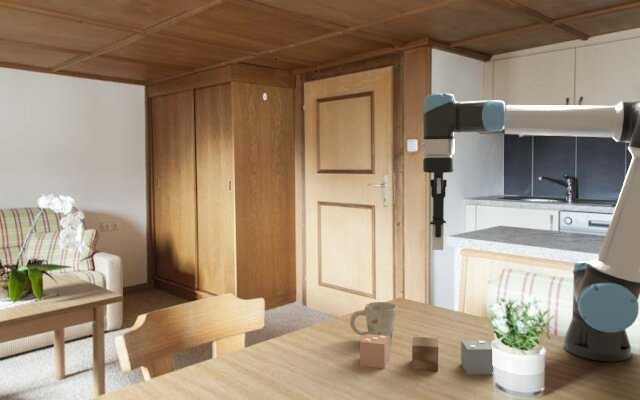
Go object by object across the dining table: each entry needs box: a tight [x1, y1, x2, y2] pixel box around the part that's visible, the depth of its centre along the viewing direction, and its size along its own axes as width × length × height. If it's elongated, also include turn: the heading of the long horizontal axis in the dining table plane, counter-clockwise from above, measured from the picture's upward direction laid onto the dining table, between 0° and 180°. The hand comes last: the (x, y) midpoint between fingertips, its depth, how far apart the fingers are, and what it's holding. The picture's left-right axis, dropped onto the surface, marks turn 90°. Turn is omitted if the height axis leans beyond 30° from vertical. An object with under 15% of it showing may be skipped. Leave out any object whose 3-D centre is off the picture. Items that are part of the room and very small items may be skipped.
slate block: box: [460, 339, 494, 375], centre depth 125 cm, size 6×6×6 cm
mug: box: [349, 301, 397, 345], centre depth 144 cm, size 8×13×10 cm, turn 78°
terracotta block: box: [359, 334, 391, 369], centre depth 130 cm, size 6×6×6 cm
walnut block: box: [411, 336, 439, 373], centre depth 128 cm, size 6×6×6 cm
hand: (437, 249), depth 136 cm, fingers closed
